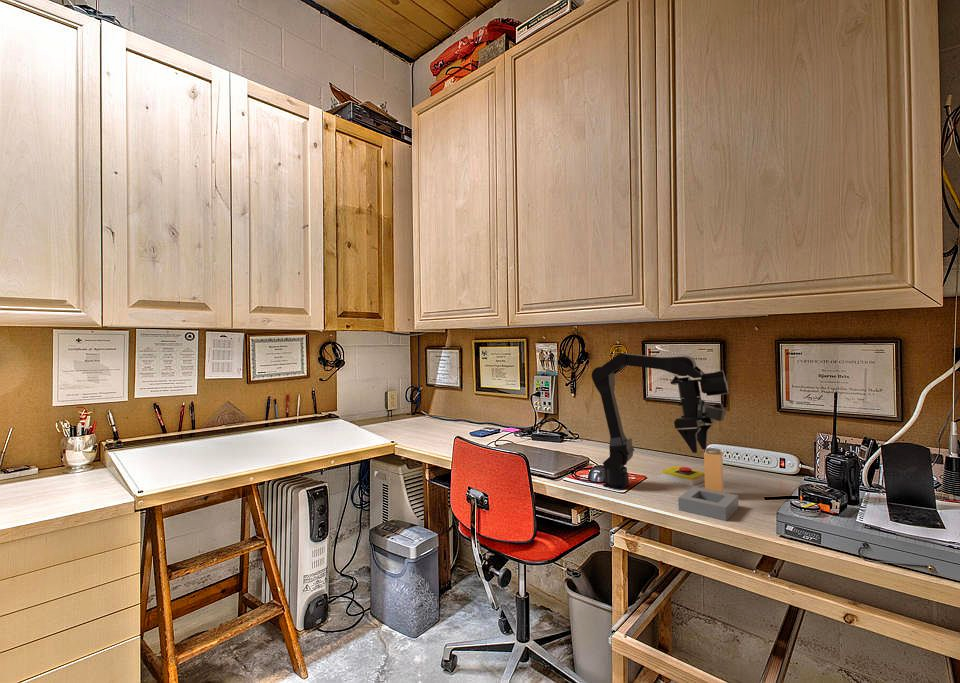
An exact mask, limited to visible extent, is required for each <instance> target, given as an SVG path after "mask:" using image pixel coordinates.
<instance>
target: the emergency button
mask: <svg viewBox="0 0 960 683" xmlns="http://www.w3.org/2000/svg"><path fill="white" fill-rule="evenodd" d="M655 478H657V479H660V480H665V481H670V482H673V483H677V484H681V485H685V486H690V487H698V488H701V487H702V486H705V475H704V471H700V470H695V469H693V468H690V467H687V466H677V465H674V466H670V467H668V468H665V469H663V470H661V474H659V475H656V476H655Z"/></svg>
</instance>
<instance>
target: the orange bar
mask: <svg viewBox="0 0 960 683" xmlns="http://www.w3.org/2000/svg"><path fill="white" fill-rule="evenodd" d="M723 459H724V458H723V451H721V449H720V448H716V447H715V448H714V447H706V449H705V451H704V453H703V464H704V466H703V468H704V469H703V472H704V475H705V485H704V489H708V490H713V491H718V492H724V462H723V461H724V460H723ZM724 493H725V492H724Z"/></svg>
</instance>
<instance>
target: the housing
mask: <svg viewBox="0 0 960 683" xmlns="http://www.w3.org/2000/svg"><path fill="white" fill-rule="evenodd" d="M677 498H678V499H677V501H678V511H681V512H685V513H690V514H694V515H697V516H698V515H699V516H702V515H703V517H706V516H707V517H708V518H711V517H712V518H711V519H715V518H716V520H719V521H724V522H726V521H727V520H728V519H729V518H730V517H732V515H733V514H734V513H735V512H736V511H737V510H738V509H739V495H738V494H733V493H728V492H718V491H713V490H708V489H705V488H702V487H693V486H691V488H689V489H688V490H686V491H685V492H684V493H683V494H681V495H679V496H678V497H677Z"/></svg>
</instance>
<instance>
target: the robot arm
mask: <svg viewBox="0 0 960 683" xmlns="http://www.w3.org/2000/svg"><path fill="white" fill-rule="evenodd" d="M615 355H616V356H614V357H613V358H612V359H610V360H609V361H607V362H606V363H605V364H603V365H602V366H598V367H595V368H594V369H593V371H592V372H591V379H592V381H593V384H594V387H595V389H596V390H597V391H598V393H599V394H600V397H601V398H600V399H601V403H602V406H603V410H604V415H605V419H606V424H607V429H608V432H609V437H610V438H609V446H608V447H609V448H608V449H609V457H608V458H606V459H605V461H603V462H602V464H603V467H604V478H605V479H604V482H605V483H602V486H603V487H606V488H610V489H611V488H612V489H615V490H623V489H625V488H628V486H629V487H630V485H631V484H630V483H629V480H630V479H629V472H628V467H627V464H628V462H630V460H631V459H632V458H633V457H634V451H635V448H634V446H633V440H632V439H633V438H627V436H626V435H625V433H624V429H623V425H622V420H621V416H620V412H619V406H618V403H617V402H618V401H617V399H616V394H615V389H616V388H615V386H616V376H615V375H616V374H618V373H619V372H620V371H621V370H622V369H623V368H624V367H625V366H628V367H629V366H631V367H637V368H647V369H655V370H661V371H665V372H668V373H670V374H673V375H675V376H674V377H673V379H672V380H671V381H670V383H669V384H671V385H677V387H678V395H679V399H680V400H679V401H680V402H679V401H678V406H681V410H682V411H681V412H682V415H680V417H678V418H676V419H675V420H674V422H673V424H674V429H676V431H677V432H678V433H679V434H680V436H681V437H682V439H683V440H684V442H685V443H686V444H687V446H688V447H689V449H690V452H692V453H693V454H697V453H698V444H699V447H700V448H701V449H702V450H706V448H707V442H708V435H709V434H708V433H709V430H710V429H711V428H712V427H713V426H714V424H715V421H719V422H722V421H725V416H726V414H727V412H726V409H725V408H724V406H723V404H720V403H715V404H714V405H707V404H706V401H705V400H704V399H702V395H701V392H702V394H706V397H709V396H710V397H713V396H719V395H720V396H721V395H729V394H730V392H729V391H730V389H729V385H728V384H729V383H728V380H727V378H726V375H725V372H724V370H717V371H715V372H706V373H705V372H704V371H703V370H702V369H701V368H700V367H699V366H697V362H696V360H694V358H693V357H691V356H690V355H682V356H681V355H680V356H679V355H678V356H668V357H665V356H663V357H662V356H654V355H653V356H652V355H644V354H633V353H628V352H620V353H617V354H615ZM676 375H677V376H676ZM678 376H680V377H678ZM687 376H688V377H687ZM691 378H693V379H691ZM699 384H700V385H699Z"/></svg>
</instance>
